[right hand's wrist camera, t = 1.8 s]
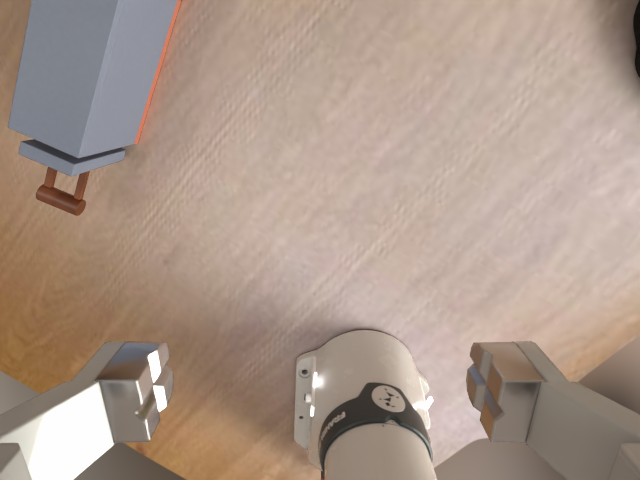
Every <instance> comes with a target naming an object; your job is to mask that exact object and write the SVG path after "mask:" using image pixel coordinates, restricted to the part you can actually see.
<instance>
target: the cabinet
mask: <svg viewBox="0 0 640 480" xmlns="http://www.w3.org/2000/svg"><path fill="white" fill-rule="evenodd" d="M181 1H182V0H32V2H31V7H30V12H29V18H28V23H27V28H26V34H25V39H24V44H23V49H22V55H21V60H20V65H19V71H18V76H17V81H16V87H15V92H14V97H13V103H12V108H11V113H10V118H9V124H8V128H10V129H12V130H15V131H17V132H19V133H21V134H24V135H26V136H28V137H31V138H33V139H35V140H38V141H40V142H42V143H44V144H47V145H49V146H51V147H54V148H56V149H58V150H60V151H63V152H65V153H67V154H70V155H72V156H74V157H76V158H81V157H86V156H89V155H93V154H97V153H101V152H105V151H109V150H113V149H117V148H121V147H124V146H128V145H132V144H137V143H138V141H139V138H140V135H141V132H142V128H143V125H144V122H145V118H146V115H147V112H148V109H149V105H150V102H151V99H152V96H153V92H154V89H155V86H156V82H157V79H158V76H159V73H160V69H161V66H162V63H163V59H164V56H165V53H166V50H167V46H168V43H169V40H170V37H171V33H172V30H173V27H174V23H175V20H176V17H177V14H178V10H179V7H180V4H181Z"/></svg>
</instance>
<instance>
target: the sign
mask: <svg viewBox="0 0 640 480" xmlns="http://www.w3.org/2000/svg"><path fill="white" fill-rule="evenodd" d="M634 31H635V37H636V42H637V52H636V60H635V64H636V70H637V73H638V75H639V77H640V1H639V4H638V6H637V9H636V13H635V16H634Z"/></svg>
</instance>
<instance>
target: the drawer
mask: <svg viewBox="0 0 640 480" xmlns="http://www.w3.org/2000/svg"><path fill="white" fill-rule="evenodd" d="M125 152H126V150H124V149H122V148H117V149H113V150H109V151H105V152H101V153H97V154H93V155H89V156H86V157H81V158H76V157H74V156H72V155H70V154H67V153H65V152H63V151H60V150H58V149H56V148H54V147H51V146H49V145H47V144H44V143H42V142H40V141H38V140H35V139H34V140H27V141H21V143H20V148H19V154H20V155H22V156H25V157H27V158H29V159H32V160H34V161H36V162H39V163H41V164H43V165H46V166H48V170H47V174H46V178H45V183H44V184H43V185H41V186H40V187H39V189H38V190H37V193H36V198H37V199H38V200H40V201H42V202H45V203H47V204H49V205H52V206H54V207H57V208H59V209H62V210H64V211H66V212H69V213H71V214H74V215H76V216H78V215H80V214H81V213H82V212H83V210H84V209H85V206H86V201H85V200H83V199H82V198H83V195H84V191H85V187H86V184H87V180H88V176H89V173H90V170H93V169H96V168H100V167H103V166H106V165H109V164H112V163H115V162H118V161H121V160H123V159H124V156H125ZM57 171H60V172H62V173H64V174H67V175H69V176H75V175H78V174H80V175H79V179H78V183H77V187H76V191H75V194H74V196H73V195H71V194H68V193H66V192H64V191H61V190H59V189H57V188H54V187H53V186H54V182H55V178H56V174H57Z"/></svg>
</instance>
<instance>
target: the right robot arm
mask: <svg viewBox="0 0 640 480" xmlns="http://www.w3.org/2000/svg"><path fill="white" fill-rule="evenodd" d="M169 357H170V352H169V347H168V345H167V344H166V343H165V342H136V341H128V342H126V341H109V342H106V343H104V344H103V346H102V347H101V348H100V349H99V350H98V351H97V352H96V353H95V355H94V356H93V357H92V358H91V359H90V360H89V361H88V363H87V364H86V365H85V366H84V367H83V368H82V369H81V371H80V372H79V373H78V374H77V375H76V376H75V377H74V379H73V380H72V381H71V382H63V383H61V384H59V385H57V386H55V387H53V388H52V389H50V390H48V391H46V392H44V393H42V394H40V395H38V396H36V397H34V398H32V399H30V400H28V401H26V402H24V403H22V404H20V405H18V406H16V407H14V408H12V409H11V410H9V411H7V412H5V413H3V414H1V415H0V480H73V479H74V478H75V477H77V476H78V475H79V474H80V473H81V472H83V471H84V470H85V469H86V468H87V467H88V466H90V465H91V464H92V463H93V462H94V461H95V460H97V459H98V458H99V457H100V456H101V455H103V454H104V453H105V452H106V451H107V450H108V449H110V448H111V447H112V446H113V445H114V443H123V442H149V441H150V439H151V437H152V435H153V433H154V431H155V429H156V427H157V425H158V423H159V421H160V416H159V412H160V411H161V410H163V409H164V408H165V407H167V405H168V403H169V401H170V399H171V395H172V391H173V383H174V377H173V370H172V369H171V368H170V367H169V366H168V365H167V364H166V362H167V360H168V359H169ZM470 357H471V359H472V360H473V362H474V364H473V365H472V366H471V367H470V368H469V369H468V370H467V378H466V383H467V392H468V395H469V399H470V401H471V403H472V405H473V407H475V408H476V409H477V410H479V411H480V412H481V416H480V421H481V423H482V425H483V427H484V429H485V431H486V433H487V435H488V437H489V439H490V441H491V442H516V443H526V445H527V446H528V447H529V448H531V449H532V450H533V451H534V452H535V453H536V454H538V455H539V456H540V457H541V458H542V459H544V460H545V461H546V462H547V463H548V464H549V465H551V466H552V467H553V468H554V469H555V470H556V471H558V472H559V473H560V474H561V475H562V476H563V477H565V478H566V479H567V480H640V415H639V414H637V413H635V412H633V411H631V410H629V409H627V408H625V407H623V406H622V405H620V404H618V403H616V402H614V401H612V400H610V399H608V398H606V397H604V396H602V395H600V394H598V393H596V392H594V391H592V390H590V389H588V388H587V387H585V386H583V385H581V384H579V383H577V382H569V381H568V380H567V379H566V377H565V376H564V375H563V374H562V373H561V372H560V371H559V369H558V368H557V367H556V366H555V365H554V364H553V363H552V361H551V360H550V359H549V358H548V357H547V356H546V355H545V354H544V352H543V351H542V350H541V349H540V348H539V347H538V346H537V344H536V343H534V342H532V341H516V342H480V343H473V345H472V347H471V352H470ZM303 370H307V371H303ZM428 391H429V386H428V382H427V380H426V379H425V378H424V377H423V376H422V375H421V374H420V373H419V372H418V371H417V369H416V367H415V364H414V361H413V358H412V356H411V354H410V352H409V351H408V349H407V348H406V347H405V346H404V345H403V344H402V343H401V342H400V341H399V340H397V339H396V338H394V337H392V336H390V335H388V334H385V333H382V332H378V331H372V330H357V331H351V332H347V333H344V334H341V335H339V336H337V337H335V338H333V339H331V340H330V341H328V342H327V343H326V344H325V345H323V346H322V347H321V348H319V349H317V350H314V351H311V352H307V353H304V354H302V355H300V356H299V357H298V358H297V360H296V380H295V410H294V440H295V442H296V443H298V444H299V445H300V446H302V447H303V448H305V449H307V450H308V460H309V462H310V463H311V464H312V465H313V466H314V467H315V468H317V469H319V470H321V480H437V477H436V474H435V472H434V468H433V465H432V460H433V455H432V449H431V442H430V438H429V434H428V432H427V430H428V429H429V428H430V418H429V414H428V410H427V409H428V408H429V406H430V405H431V403H432V402H433V399H432V397H429V398H428V400H427V401H425V395H426V394H427V393H428Z"/></svg>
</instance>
